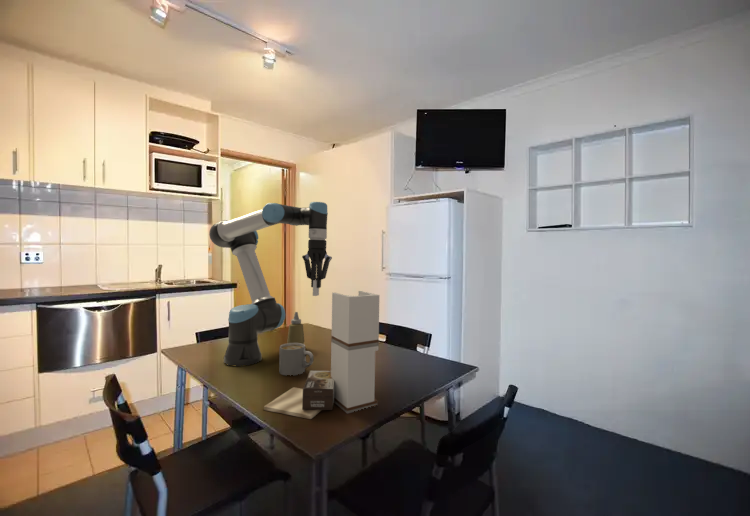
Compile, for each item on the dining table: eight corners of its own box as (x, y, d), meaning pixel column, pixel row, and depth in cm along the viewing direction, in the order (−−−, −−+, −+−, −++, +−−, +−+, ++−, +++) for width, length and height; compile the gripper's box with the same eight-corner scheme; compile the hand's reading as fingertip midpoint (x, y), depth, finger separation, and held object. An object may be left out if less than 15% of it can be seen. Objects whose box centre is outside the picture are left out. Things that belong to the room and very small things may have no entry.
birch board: (263, 409, 105) (263, 406, 105) (293, 390, 120) (293, 387, 120) (311, 419, 100) (311, 415, 100) (335, 397, 115) (335, 394, 115)
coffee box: (309, 388, 119) (301, 410, 102) (310, 369, 119) (301, 388, 102) (336, 389, 119) (332, 410, 103) (337, 370, 119) (333, 389, 103)
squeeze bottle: (284, 351, 166) (284, 313, 165) (291, 346, 174) (291, 310, 173) (300, 352, 164) (301, 313, 164) (306, 347, 172) (307, 311, 172)
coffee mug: (273, 373, 136) (274, 347, 135) (288, 365, 145) (288, 341, 145) (304, 378, 131) (304, 351, 131) (317, 370, 140) (317, 345, 140)
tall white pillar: (377, 406, 109) (379, 295, 108) (347, 415, 104) (349, 297, 103) (358, 393, 119) (360, 291, 118) (330, 400, 113) (332, 292, 112)
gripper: (299, 238, 145) (297, 295, 146) (327, 239, 141) (325, 297, 142) (308, 239, 152) (306, 293, 153) (335, 240, 148) (333, 295, 149)
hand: (315, 295), depth 147 cm, fingers closed
